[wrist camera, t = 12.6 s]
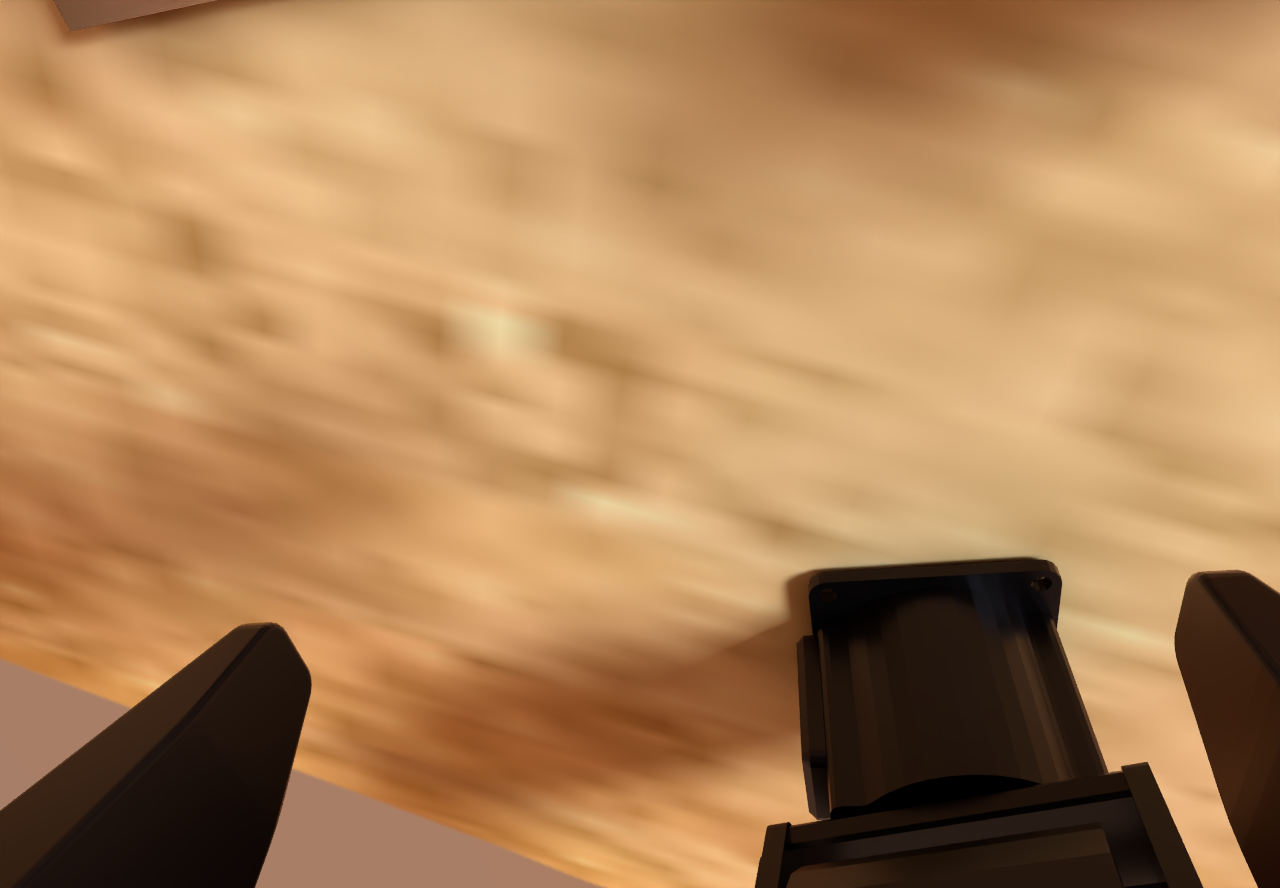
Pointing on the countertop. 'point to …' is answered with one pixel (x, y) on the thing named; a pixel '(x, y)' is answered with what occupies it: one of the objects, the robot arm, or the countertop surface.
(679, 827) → the countertop surface
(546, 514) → the countertop surface
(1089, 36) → the countertop surface
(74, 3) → the socket board
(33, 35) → the countertop surface
